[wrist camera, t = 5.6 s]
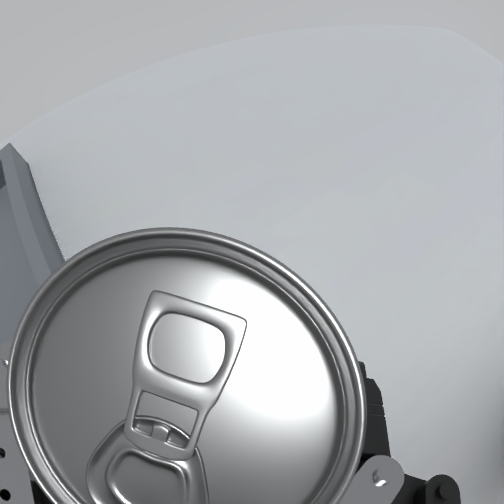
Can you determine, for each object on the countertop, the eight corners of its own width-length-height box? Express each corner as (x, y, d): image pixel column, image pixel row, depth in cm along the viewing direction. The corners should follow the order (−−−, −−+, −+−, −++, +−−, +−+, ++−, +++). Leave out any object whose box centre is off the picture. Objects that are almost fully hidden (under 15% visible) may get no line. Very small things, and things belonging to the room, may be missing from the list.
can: (142, 408, 14) (-21, 478, 3) (177, 295, 16) (62, 165, 5) (261, 446, 14) (311, 605, 2) (296, 330, 16) (429, 267, 4)
